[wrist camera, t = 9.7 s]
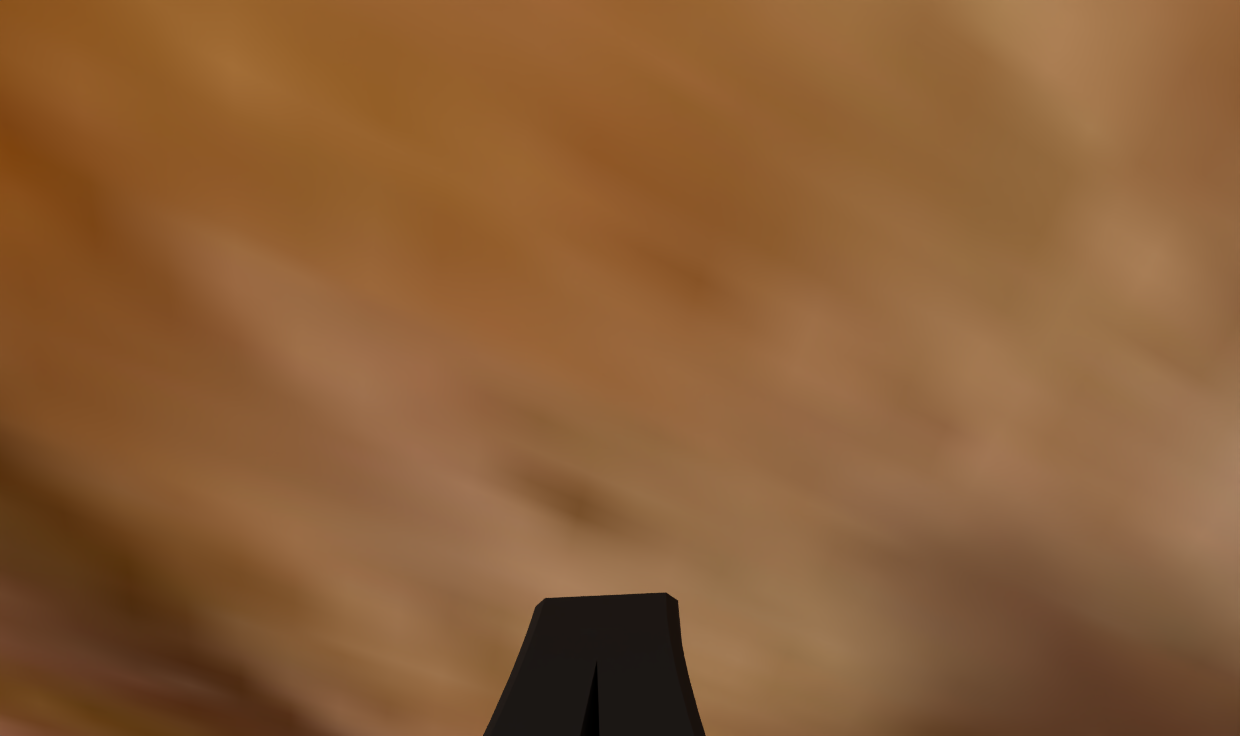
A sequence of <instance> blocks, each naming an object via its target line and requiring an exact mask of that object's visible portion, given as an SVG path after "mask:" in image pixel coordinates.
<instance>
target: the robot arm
mask: <svg viewBox="0 0 1240 736" xmlns="http://www.w3.org/2000/svg"><path fill="white" fill-rule="evenodd" d="M483 736H706V735H705V732H704V729H703V726H702V722H701V719H700V716H699V713H698V709H697V705H696V701H695V698H694V694H693V690H692V687H691V683H690V679H689V675H688V671H687V666H686V662H685V657H684V652H683V647H682V639H681V628H680V618H679V608H678V600H676V599H675V598H673V597H672V596H670V595H669V594H667V593H646V594H624V595H603V596H581V597H560V598H545V599H544V600H543V601H541V602H540V603H539V604H538V605H537V606H536V607H535V610H534V613H533V616H532V619H531V622H530V625H529V628H528V631H527V634H526V636H525V639H524V642H523V644H522V647H521V649H520V652H519V655H518V657H517V660H516V662H515V665H514V667H513V670H512V672H511V674H510V677H509V679H508V682H507V684H506V686H505V688H504V691H503V693H502V695H501V698H500V700H499V702H498V704H497V707H496V709H495V711H494V713H493V716H492V718H491V720H490V722H489V724H488V726H487V728H486V730H485V733H484V735H483Z"/></svg>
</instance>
